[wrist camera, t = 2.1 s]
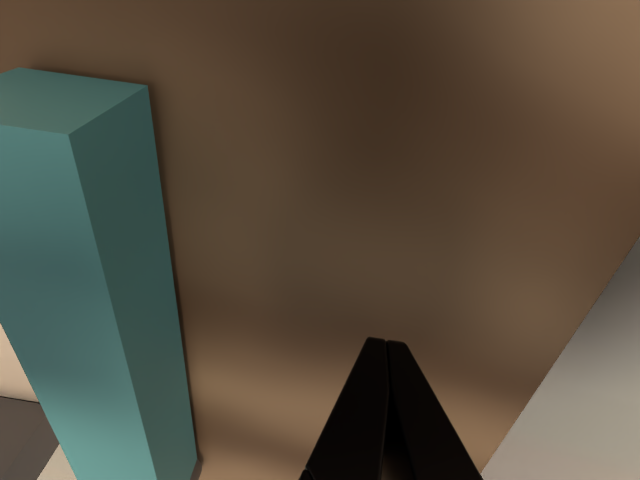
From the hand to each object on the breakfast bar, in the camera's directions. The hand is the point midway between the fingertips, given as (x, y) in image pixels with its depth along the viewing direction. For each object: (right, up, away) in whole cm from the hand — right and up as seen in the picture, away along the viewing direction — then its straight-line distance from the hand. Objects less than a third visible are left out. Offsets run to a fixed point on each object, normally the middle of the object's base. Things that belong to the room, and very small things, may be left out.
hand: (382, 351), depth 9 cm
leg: (-7, -1, +3) cm, 7 cm away
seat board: (-2, +1, +5) cm, 5 cm away
